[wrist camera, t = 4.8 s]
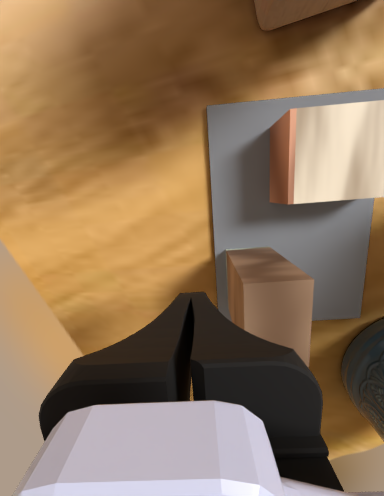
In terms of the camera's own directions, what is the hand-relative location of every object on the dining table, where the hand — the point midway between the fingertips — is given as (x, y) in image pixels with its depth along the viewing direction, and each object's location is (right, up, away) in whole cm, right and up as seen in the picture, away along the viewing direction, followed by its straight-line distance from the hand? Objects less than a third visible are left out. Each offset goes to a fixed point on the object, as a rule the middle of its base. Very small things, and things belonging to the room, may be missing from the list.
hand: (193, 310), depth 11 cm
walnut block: (+5, 0, +10) cm, 11 cm away
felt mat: (+9, +6, +9) cm, 14 cm away
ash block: (+6, +10, +5) cm, 13 cm away
